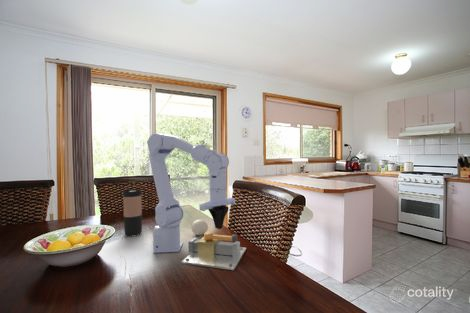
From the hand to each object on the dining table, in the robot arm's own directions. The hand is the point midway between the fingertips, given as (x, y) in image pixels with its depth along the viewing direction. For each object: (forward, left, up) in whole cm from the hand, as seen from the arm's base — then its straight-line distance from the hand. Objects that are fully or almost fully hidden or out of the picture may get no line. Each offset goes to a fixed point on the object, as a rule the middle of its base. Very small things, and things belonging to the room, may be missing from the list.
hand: (218, 228), depth 78 cm
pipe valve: (-2, +4, -10) cm, 11 cm away
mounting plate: (-1, +2, -10) cm, 11 cm away
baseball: (-9, +24, -11) cm, 28 cm away
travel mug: (-40, +29, -11) cm, 50 cm away
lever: (+1, +3, -5) cm, 6 cm away
